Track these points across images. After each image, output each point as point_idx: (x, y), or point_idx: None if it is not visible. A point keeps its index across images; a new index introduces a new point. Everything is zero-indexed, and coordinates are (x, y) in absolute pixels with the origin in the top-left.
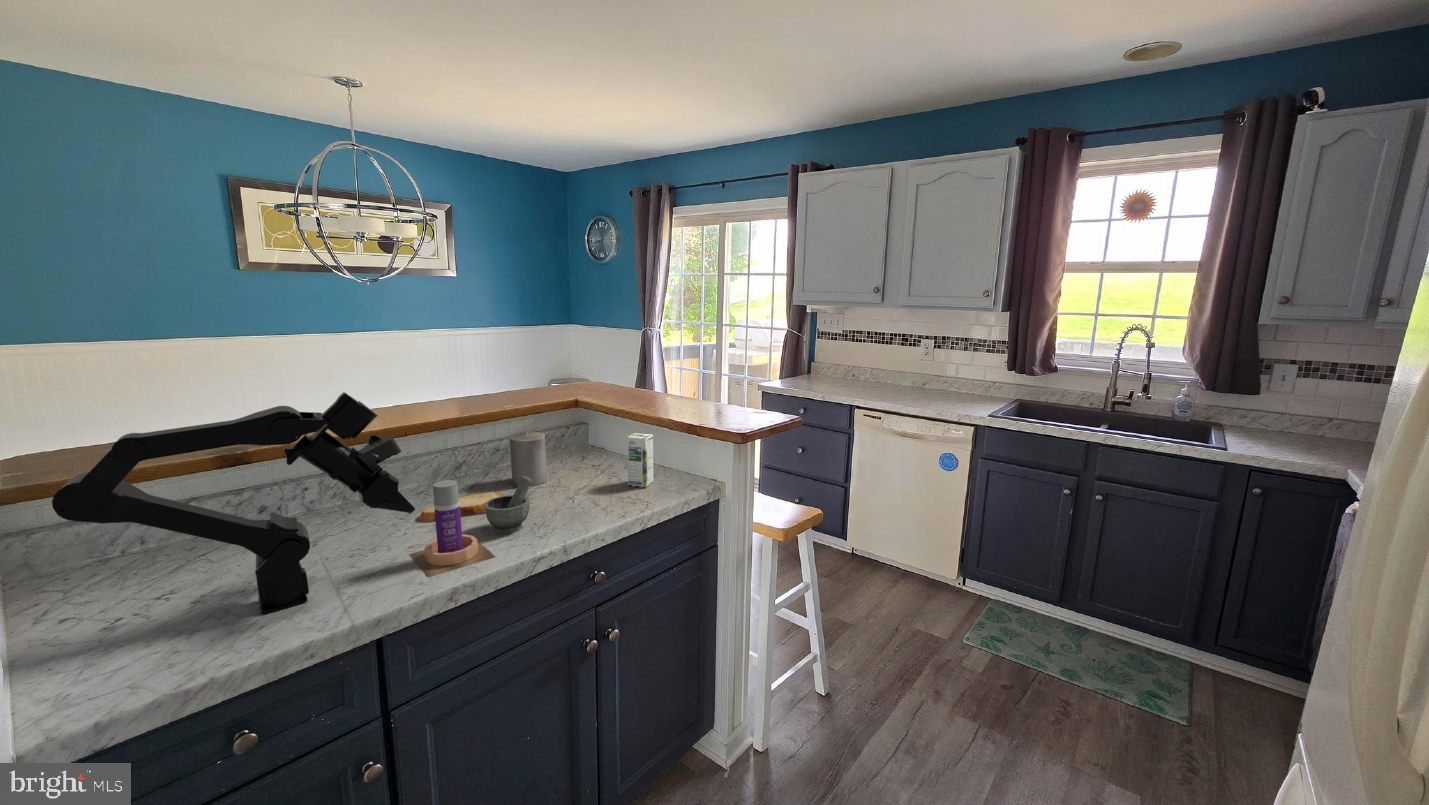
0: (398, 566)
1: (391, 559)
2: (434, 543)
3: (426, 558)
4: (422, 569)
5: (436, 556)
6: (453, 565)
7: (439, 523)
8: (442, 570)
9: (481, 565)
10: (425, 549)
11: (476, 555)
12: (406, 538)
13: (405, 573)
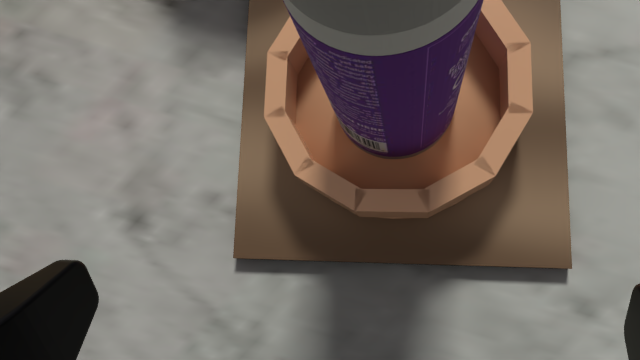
0: (311, 331)
1: (208, 332)
2: (302, 144)
3: (385, 216)
4: (459, 261)
5: (479, 185)
6: None
7: (433, 85)
8: (540, 189)
9: (576, 25)
10: (368, 208)
11: None
12: (26, 207)
13: (415, 330)
